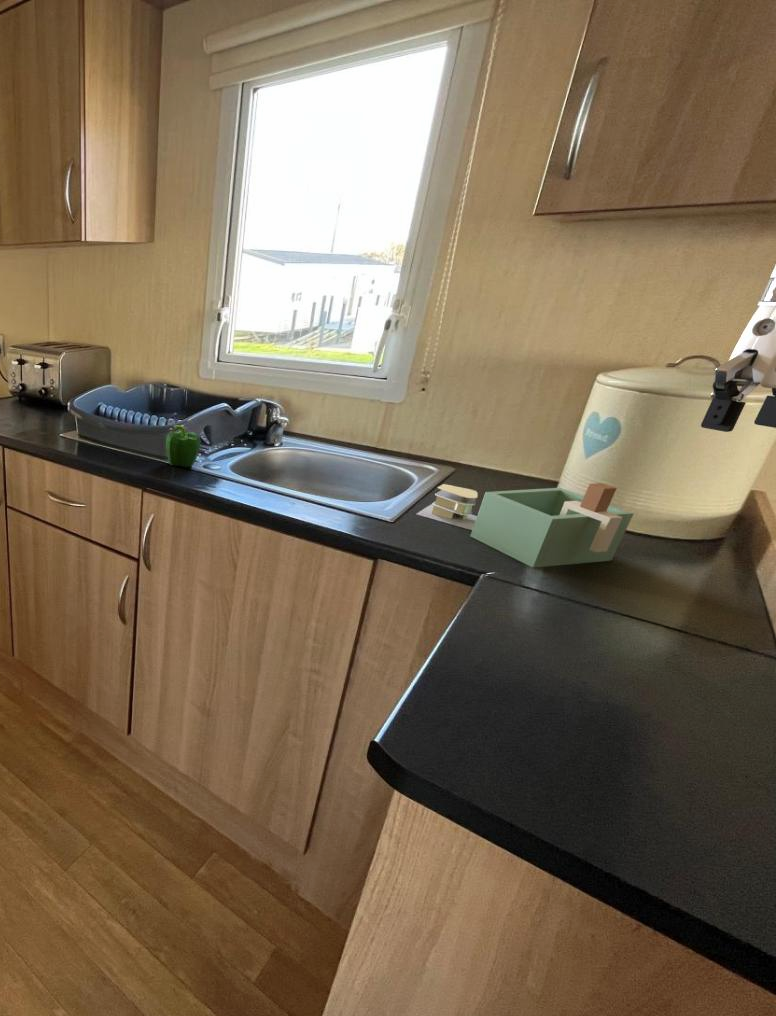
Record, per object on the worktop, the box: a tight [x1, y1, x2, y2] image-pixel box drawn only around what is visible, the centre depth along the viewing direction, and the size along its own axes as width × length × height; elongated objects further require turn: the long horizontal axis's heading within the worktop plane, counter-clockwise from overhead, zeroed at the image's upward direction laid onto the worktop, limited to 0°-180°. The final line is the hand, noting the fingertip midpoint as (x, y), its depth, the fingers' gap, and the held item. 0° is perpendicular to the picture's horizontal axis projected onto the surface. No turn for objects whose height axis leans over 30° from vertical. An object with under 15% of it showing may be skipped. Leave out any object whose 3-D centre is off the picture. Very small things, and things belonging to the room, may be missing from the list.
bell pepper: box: [165, 425, 201, 468], centre depth 136 cm, size 8×8×10 cm
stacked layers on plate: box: [416, 483, 479, 531], centre depth 109 cm, size 10×9×6 cm
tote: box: [470, 487, 634, 569], centre depth 96 cm, size 16×12×9 cm
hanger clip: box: [560, 482, 623, 552], centre depth 89 cm, size 2×7×10 cm, turn 11°
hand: (742, 427), depth 76 cm, fingers open, 9 cm apart
